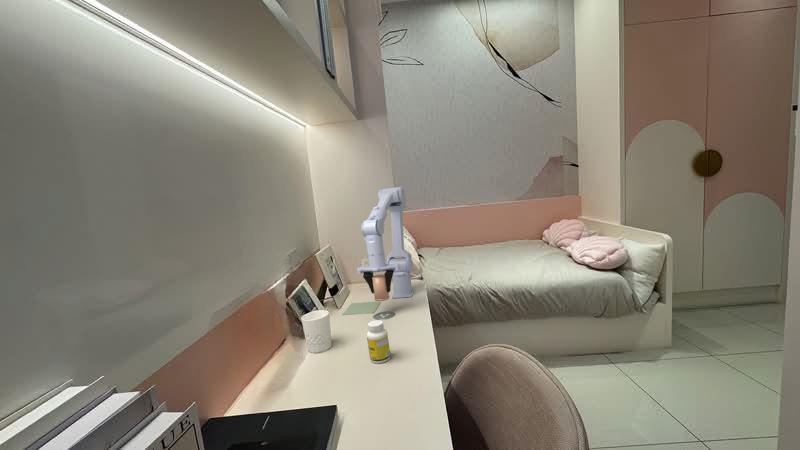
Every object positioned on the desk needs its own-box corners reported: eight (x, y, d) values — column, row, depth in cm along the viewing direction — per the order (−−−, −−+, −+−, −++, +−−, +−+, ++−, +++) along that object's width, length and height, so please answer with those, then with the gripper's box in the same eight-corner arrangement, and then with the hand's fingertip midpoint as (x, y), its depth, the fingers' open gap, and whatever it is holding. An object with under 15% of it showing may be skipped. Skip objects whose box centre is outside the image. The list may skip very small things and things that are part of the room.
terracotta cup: (376, 296, 125) (373, 275, 124) (390, 295, 124) (387, 273, 123) (373, 301, 120) (370, 279, 119) (387, 300, 119) (384, 277, 118)
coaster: (375, 313, 127) (375, 311, 127) (397, 311, 126) (397, 310, 126) (370, 321, 119) (370, 320, 119) (393, 320, 118) (393, 319, 118)
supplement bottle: (367, 357, 93) (362, 322, 92) (386, 351, 94) (382, 317, 93) (373, 366, 88) (368, 328, 87) (393, 360, 89) (388, 323, 88)
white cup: (336, 341, 106) (332, 309, 105) (329, 353, 98) (323, 319, 97) (312, 342, 107) (307, 311, 106) (302, 355, 99) (296, 321, 98)
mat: (351, 303, 140) (351, 303, 140) (380, 301, 138) (380, 301, 138) (342, 315, 128) (342, 314, 128) (373, 313, 126) (373, 312, 126)
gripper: (352, 258, 117) (357, 297, 119) (394, 254, 115) (399, 294, 116) (358, 253, 124) (363, 290, 126) (398, 250, 122) (402, 287, 123)
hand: (381, 292), depth 121 cm, fingers closed on terracotta cup, 5 cm apart
